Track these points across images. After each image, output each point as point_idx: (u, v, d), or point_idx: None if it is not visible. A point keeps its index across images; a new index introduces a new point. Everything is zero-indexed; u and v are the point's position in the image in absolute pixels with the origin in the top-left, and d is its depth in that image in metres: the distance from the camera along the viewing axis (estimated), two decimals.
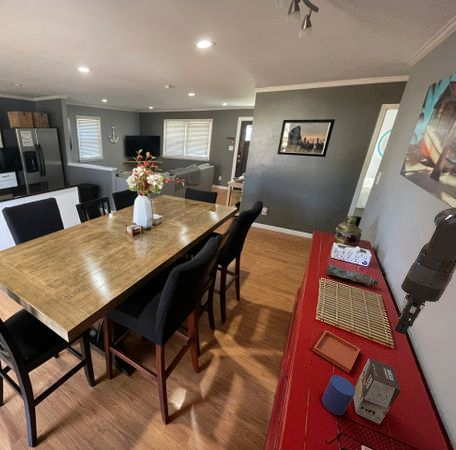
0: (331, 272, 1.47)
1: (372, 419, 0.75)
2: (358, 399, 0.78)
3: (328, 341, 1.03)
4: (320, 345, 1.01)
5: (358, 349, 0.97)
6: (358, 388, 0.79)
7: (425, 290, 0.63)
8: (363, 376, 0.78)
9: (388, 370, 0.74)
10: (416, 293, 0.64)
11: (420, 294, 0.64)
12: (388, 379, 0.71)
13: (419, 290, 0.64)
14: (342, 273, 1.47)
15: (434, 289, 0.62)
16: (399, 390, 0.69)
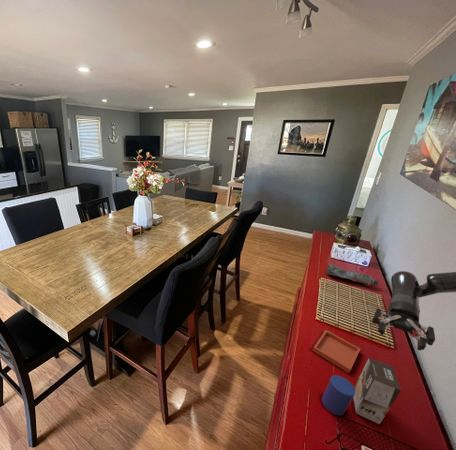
0: (331, 272, 1.47)
1: (372, 419, 0.75)
2: (358, 399, 0.78)
3: (328, 341, 1.03)
4: (320, 345, 1.01)
5: (358, 349, 0.97)
6: (358, 388, 0.79)
7: None
8: (363, 376, 0.78)
9: (387, 370, 0.74)
10: None
11: None
12: (388, 379, 0.71)
13: None
14: (342, 273, 1.47)
15: None
16: (399, 390, 0.69)
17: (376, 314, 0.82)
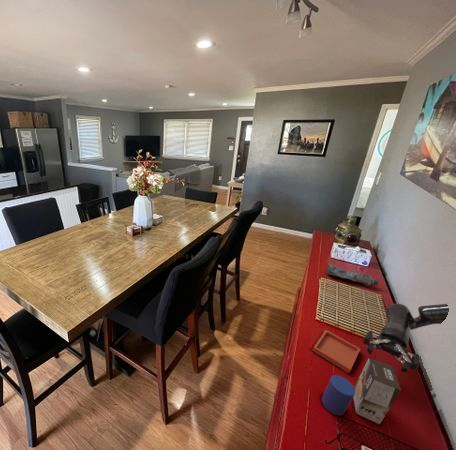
0: (331, 272, 1.47)
1: (372, 419, 0.75)
2: (358, 399, 0.78)
3: (328, 341, 1.03)
4: (320, 345, 1.01)
5: (358, 349, 0.97)
6: (358, 388, 0.79)
7: None
8: (363, 376, 0.78)
9: (387, 370, 0.74)
10: None
11: (406, 347, 0.87)
12: (388, 379, 0.71)
13: None
14: (342, 273, 1.47)
15: None
16: (399, 390, 0.69)
17: (367, 336, 0.89)
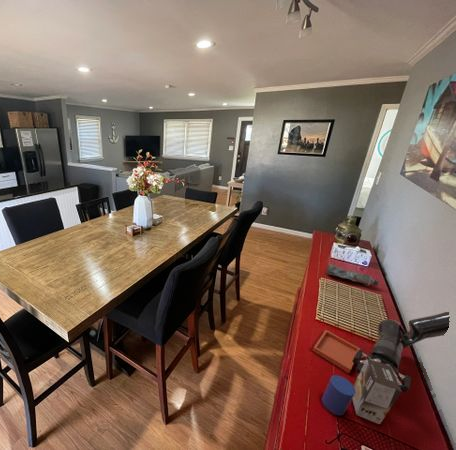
0: (331, 272, 1.47)
1: (372, 420, 0.75)
2: (358, 400, 0.77)
3: (328, 341, 1.03)
4: (320, 345, 1.01)
5: (358, 349, 0.97)
6: (357, 389, 0.79)
7: None
8: (362, 377, 0.78)
9: (386, 370, 0.74)
10: (398, 366, 0.82)
11: (397, 367, 0.83)
12: (387, 380, 0.71)
13: (398, 365, 0.83)
14: (342, 273, 1.47)
15: None
16: (399, 391, 0.69)
17: (357, 354, 0.86)
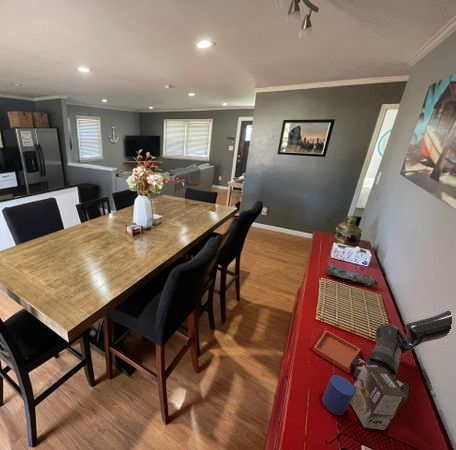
0: (331, 272, 1.47)
1: (378, 428, 0.73)
2: (363, 411, 0.74)
3: (328, 341, 1.03)
4: (320, 345, 1.01)
5: (358, 349, 0.97)
6: (358, 398, 0.76)
7: None
8: (362, 386, 0.75)
9: (384, 375, 0.72)
10: (396, 373, 0.80)
11: (395, 374, 0.80)
12: (391, 387, 0.69)
13: None
14: (342, 273, 1.47)
15: None
16: (405, 397, 0.67)
17: (354, 360, 0.83)
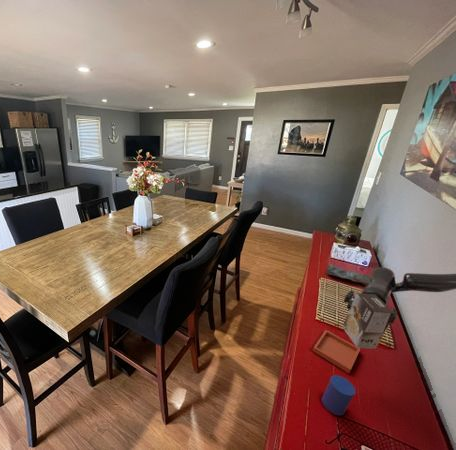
0: (331, 272, 1.47)
1: (370, 347, 0.80)
2: (356, 333, 0.82)
3: (328, 341, 1.03)
4: (320, 345, 1.01)
5: (358, 349, 0.97)
6: (351, 323, 0.84)
7: None
8: (355, 311, 0.82)
9: (375, 299, 0.80)
10: (386, 303, 0.88)
11: (386, 304, 0.88)
12: (381, 307, 0.76)
13: None
14: (342, 273, 1.47)
15: None
16: (393, 313, 0.74)
17: (348, 294, 0.91)
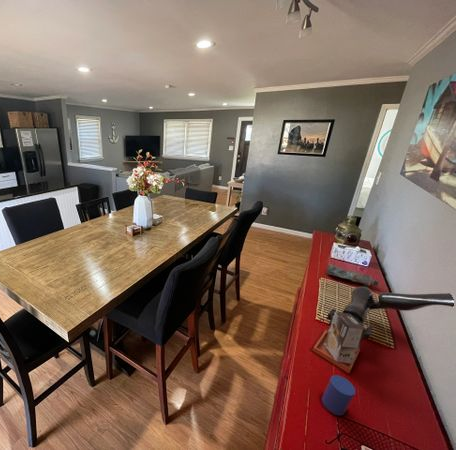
0: (331, 272, 1.47)
1: (347, 361, 0.91)
2: (335, 348, 0.93)
3: None
4: (320, 345, 1.01)
5: (358, 349, 0.97)
6: (331, 340, 0.95)
7: None
8: (334, 328, 0.94)
9: (350, 317, 0.93)
10: None
11: (363, 322, 1.00)
12: (355, 323, 0.89)
13: (364, 320, 1.00)
14: (342, 273, 1.47)
15: None
16: (365, 329, 0.87)
17: (330, 312, 1.03)
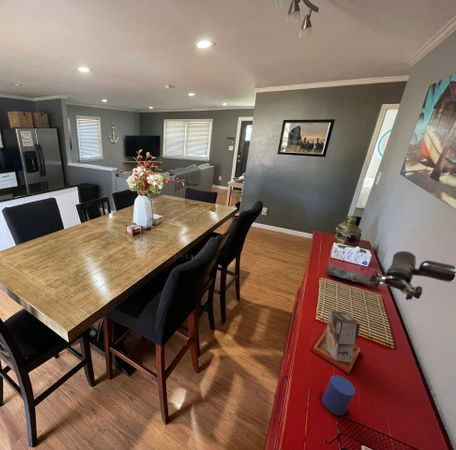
0: (331, 272, 1.47)
1: (347, 360, 0.91)
2: (333, 347, 0.93)
3: None
4: (320, 345, 1.01)
5: (358, 349, 0.97)
6: (329, 339, 0.96)
7: None
8: (330, 327, 0.96)
9: (344, 315, 0.95)
10: (410, 281, 0.93)
11: None
12: (349, 319, 0.91)
13: None
14: (342, 273, 1.46)
15: None
16: (359, 324, 0.89)
17: (374, 274, 0.96)
